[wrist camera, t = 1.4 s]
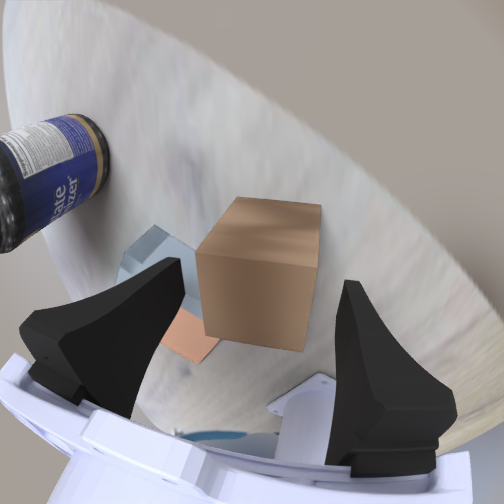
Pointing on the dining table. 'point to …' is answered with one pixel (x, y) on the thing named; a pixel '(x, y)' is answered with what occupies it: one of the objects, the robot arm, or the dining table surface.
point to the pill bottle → (47, 174)
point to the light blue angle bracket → (190, 313)
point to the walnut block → (260, 272)
